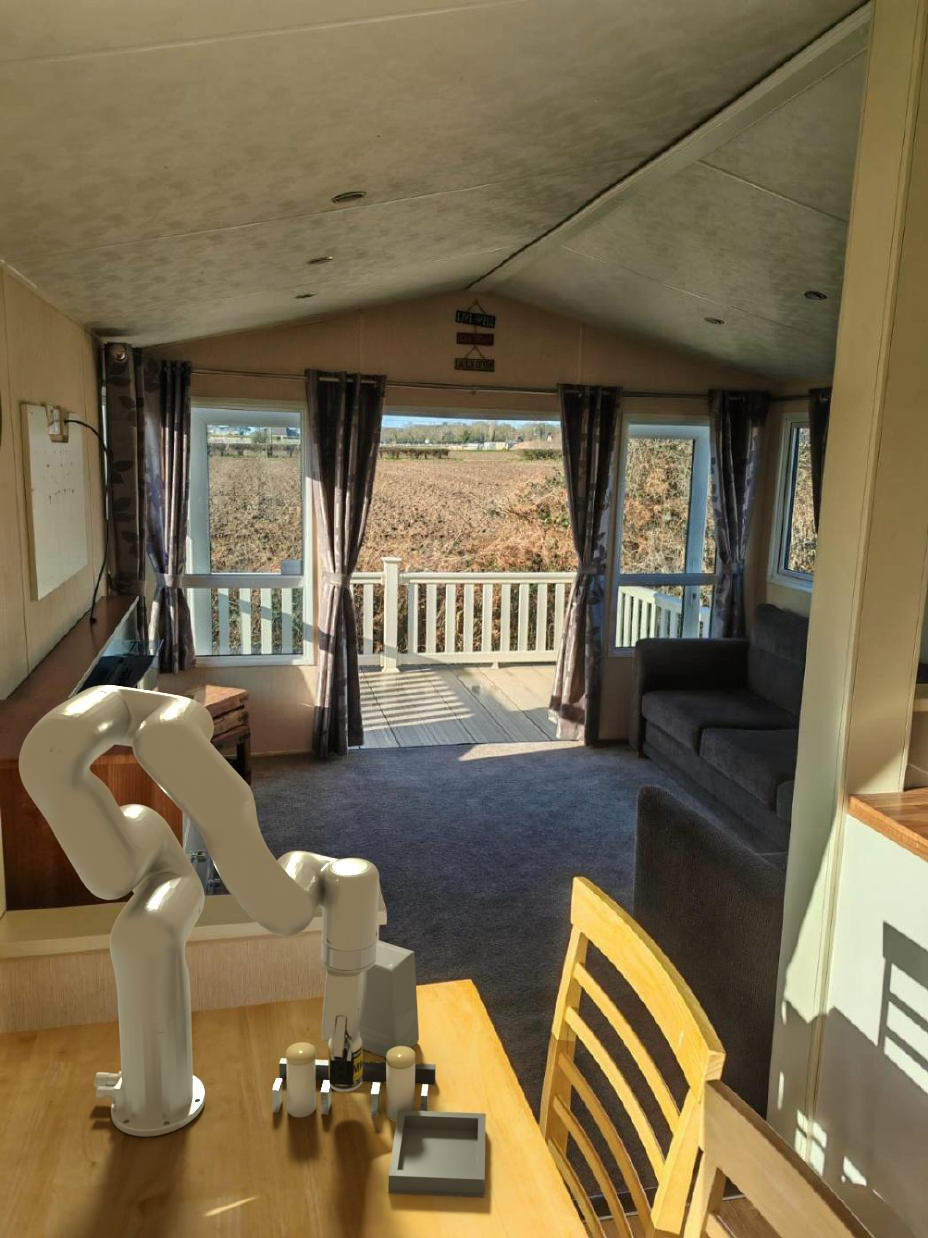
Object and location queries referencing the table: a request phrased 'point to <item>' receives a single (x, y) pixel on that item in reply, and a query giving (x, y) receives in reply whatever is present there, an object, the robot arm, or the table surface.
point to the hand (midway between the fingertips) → (344, 1069)
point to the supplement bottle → (357, 1065)
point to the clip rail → (369, 1074)
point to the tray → (438, 1154)
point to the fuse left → (301, 1079)
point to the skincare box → (390, 1001)
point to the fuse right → (400, 1081)
